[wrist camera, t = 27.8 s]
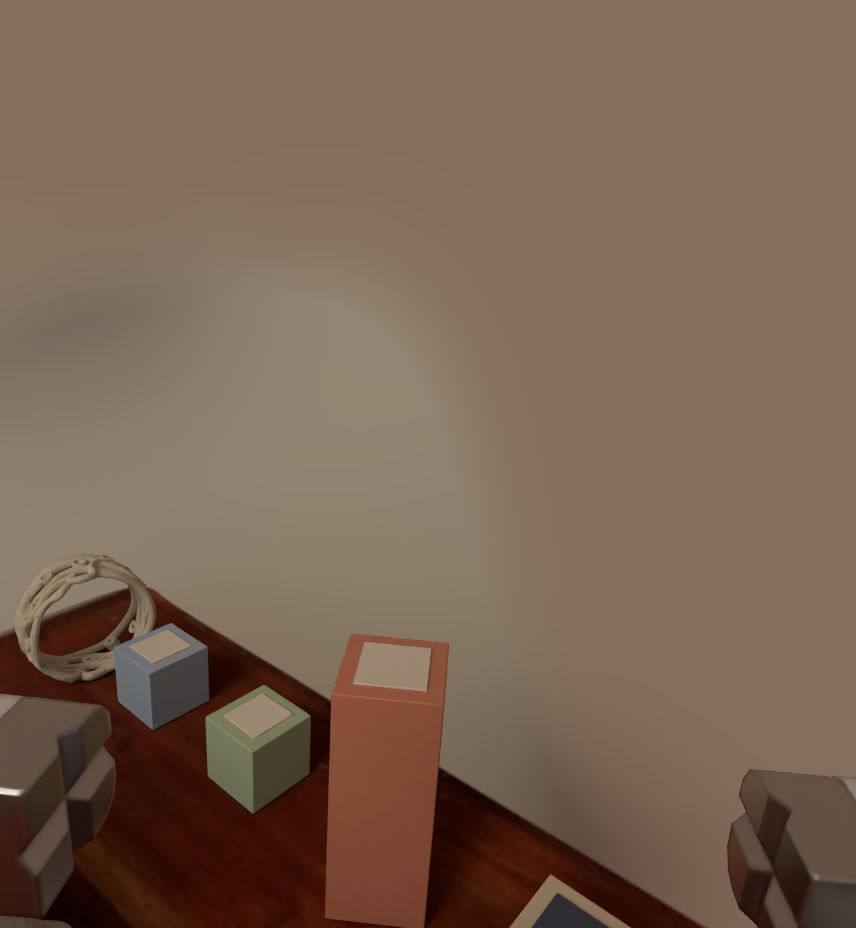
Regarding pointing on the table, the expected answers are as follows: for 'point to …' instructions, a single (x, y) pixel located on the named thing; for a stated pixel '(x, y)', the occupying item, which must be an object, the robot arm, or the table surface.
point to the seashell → (29, 923)
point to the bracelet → (55, 589)
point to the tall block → (384, 779)
